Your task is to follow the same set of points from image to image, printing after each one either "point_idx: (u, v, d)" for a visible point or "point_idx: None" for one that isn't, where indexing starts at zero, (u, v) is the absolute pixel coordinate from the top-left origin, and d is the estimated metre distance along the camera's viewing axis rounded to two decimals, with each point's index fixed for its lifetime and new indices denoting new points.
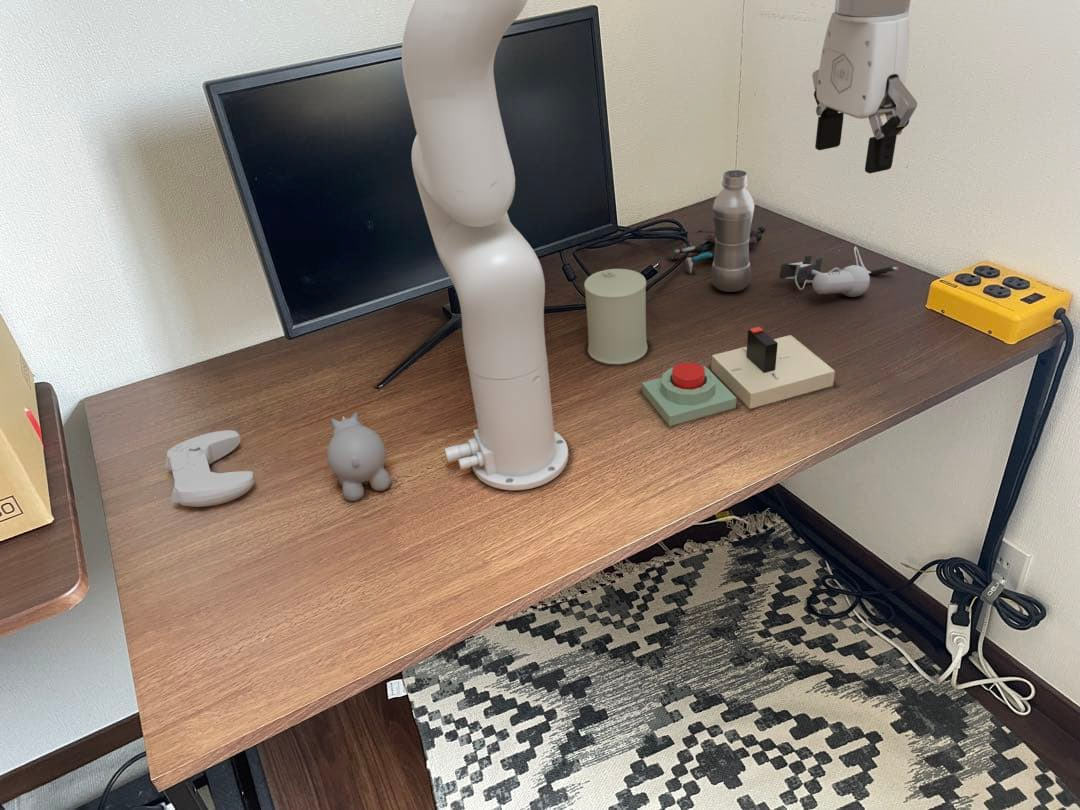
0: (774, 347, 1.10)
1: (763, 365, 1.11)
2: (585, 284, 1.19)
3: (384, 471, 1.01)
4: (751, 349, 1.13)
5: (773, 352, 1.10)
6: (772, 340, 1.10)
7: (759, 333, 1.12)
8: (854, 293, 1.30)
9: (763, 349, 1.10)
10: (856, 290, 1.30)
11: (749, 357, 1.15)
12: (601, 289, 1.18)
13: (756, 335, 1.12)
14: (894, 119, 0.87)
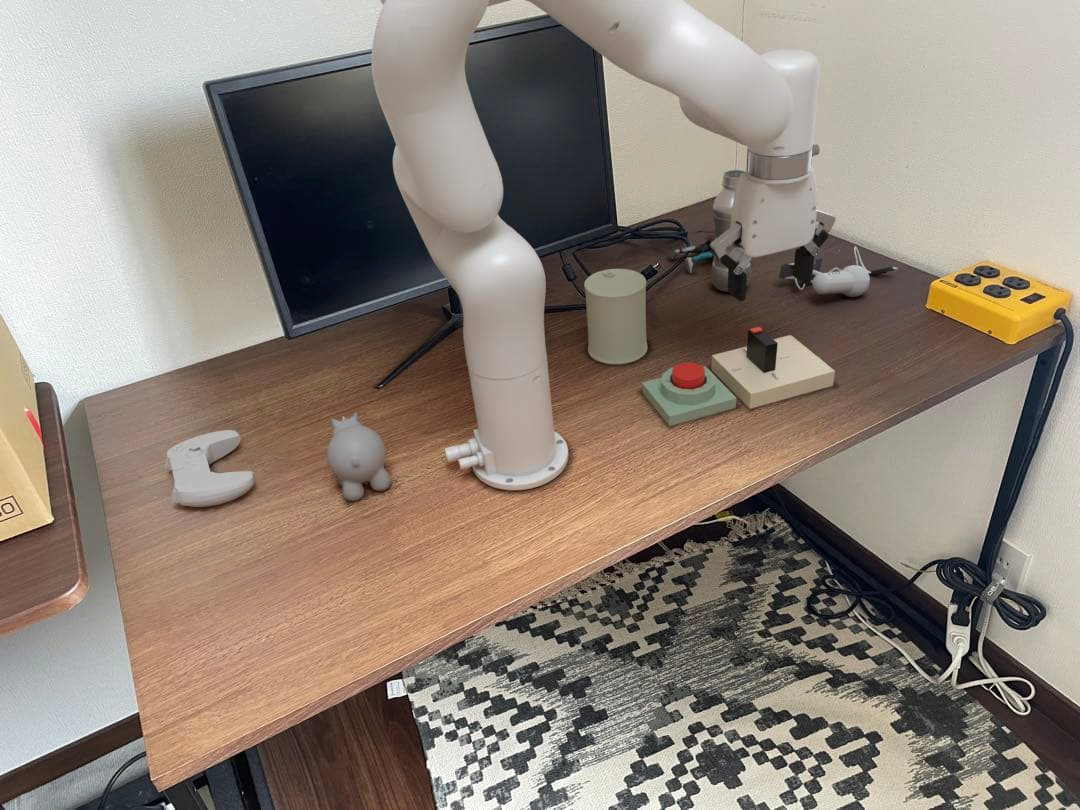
0: (774, 347, 1.10)
1: (763, 365, 1.11)
2: (585, 284, 1.19)
3: (384, 471, 1.01)
4: (751, 349, 1.13)
5: (773, 352, 1.10)
6: (772, 340, 1.10)
7: (759, 333, 1.12)
8: (854, 293, 1.30)
9: (763, 349, 1.10)
10: (856, 290, 1.30)
11: (749, 357, 1.15)
12: (601, 289, 1.18)
13: (756, 335, 1.12)
14: None
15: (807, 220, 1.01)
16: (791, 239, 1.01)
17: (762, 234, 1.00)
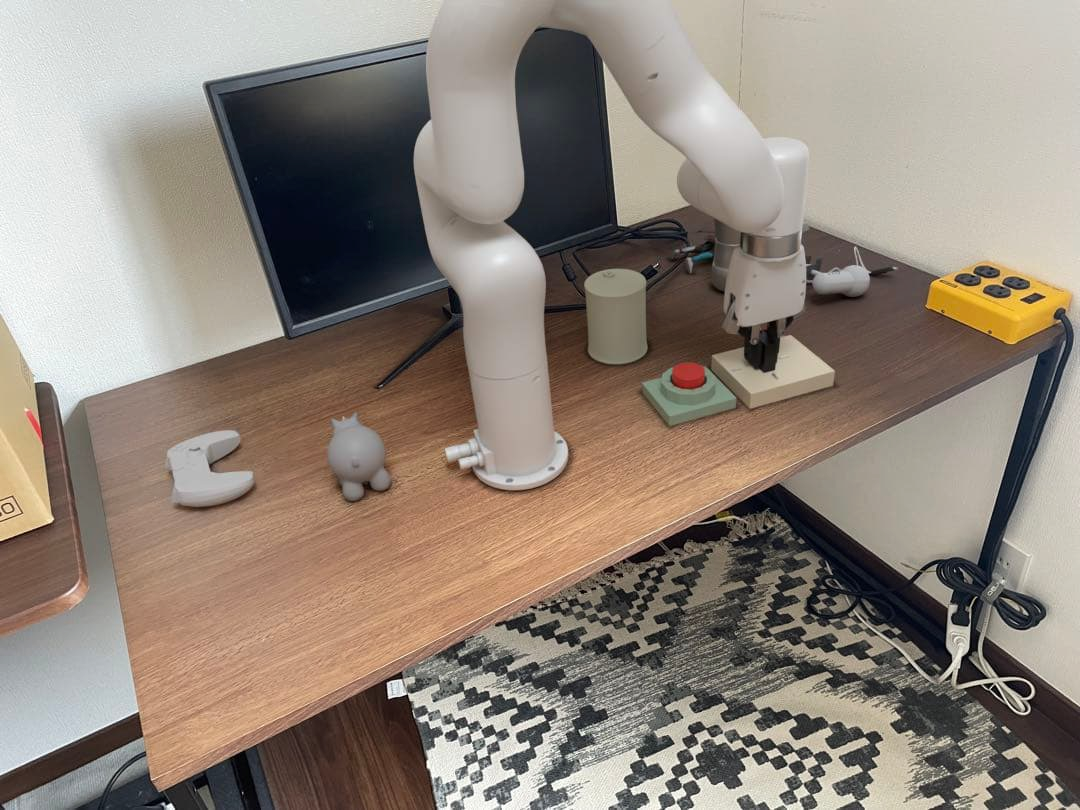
0: (774, 347, 1.10)
1: (763, 365, 1.11)
2: (585, 284, 1.19)
3: (384, 471, 1.01)
4: None
5: (773, 352, 1.10)
6: (772, 340, 1.10)
7: None
8: (854, 293, 1.30)
9: (763, 349, 1.10)
10: (856, 290, 1.30)
11: None
12: (601, 289, 1.18)
13: None
14: None
15: (797, 292, 1.06)
16: (782, 310, 1.07)
17: (754, 306, 1.05)
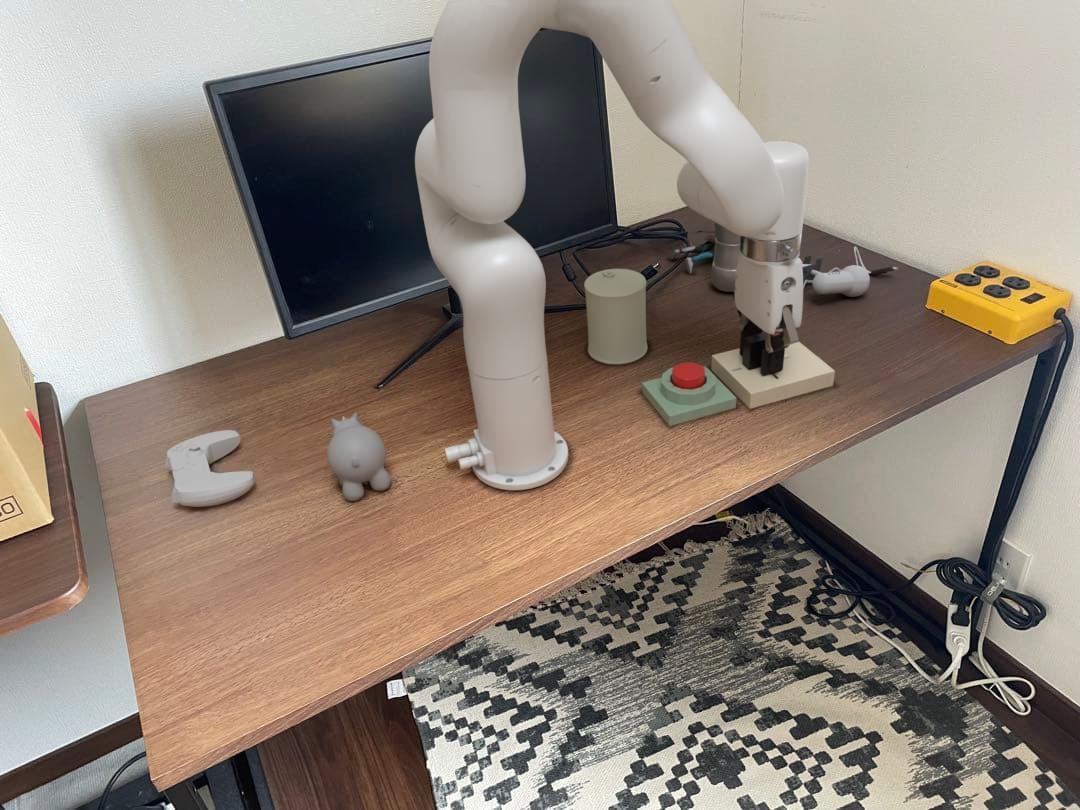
0: (748, 345, 1.11)
1: None
2: (585, 284, 1.19)
3: (384, 471, 1.01)
4: None
5: (747, 349, 1.11)
6: (755, 341, 1.11)
7: None
8: (854, 293, 1.30)
9: None
10: (856, 290, 1.30)
11: None
12: (601, 289, 1.18)
13: None
14: None
15: (764, 308, 1.05)
16: (755, 316, 1.07)
17: (739, 292, 1.10)
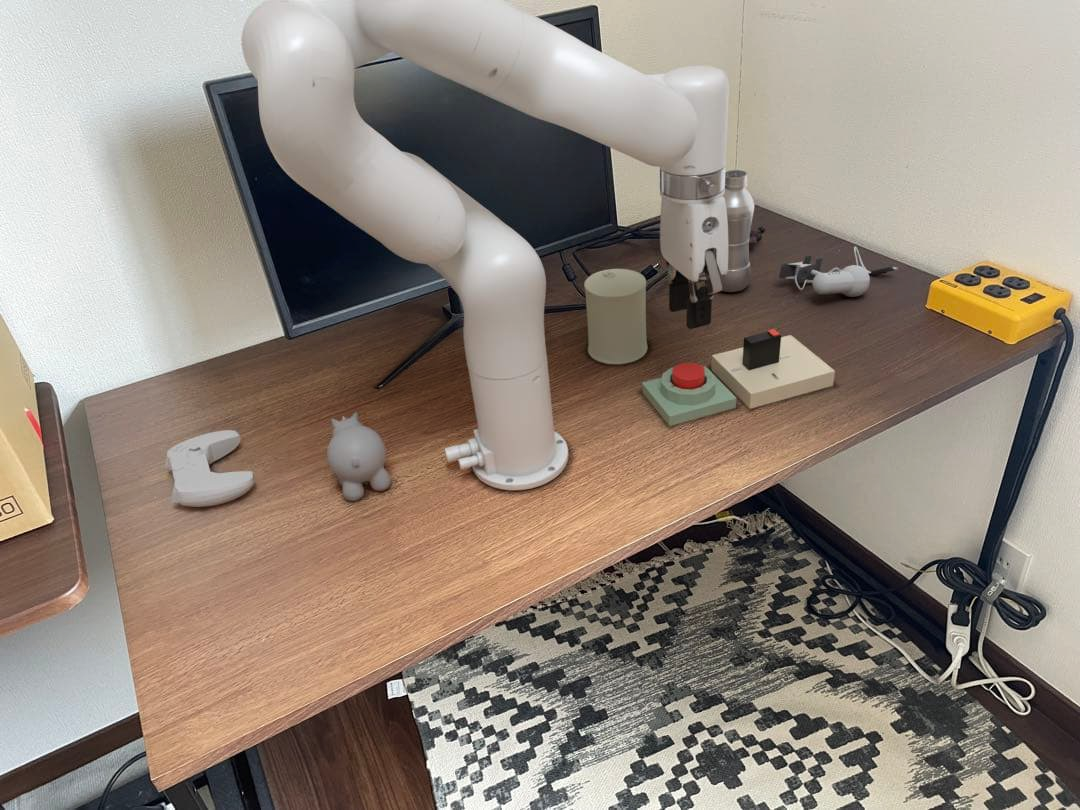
0: (748, 345, 1.11)
1: None
2: (585, 284, 1.19)
3: (384, 471, 1.01)
4: None
5: (747, 349, 1.11)
6: (755, 341, 1.11)
7: (768, 335, 1.12)
8: (854, 293, 1.30)
9: None
10: (856, 290, 1.30)
11: None
12: (601, 289, 1.18)
13: (764, 333, 1.12)
14: None
15: (686, 253, 0.96)
16: (678, 262, 0.99)
17: (663, 237, 1.01)
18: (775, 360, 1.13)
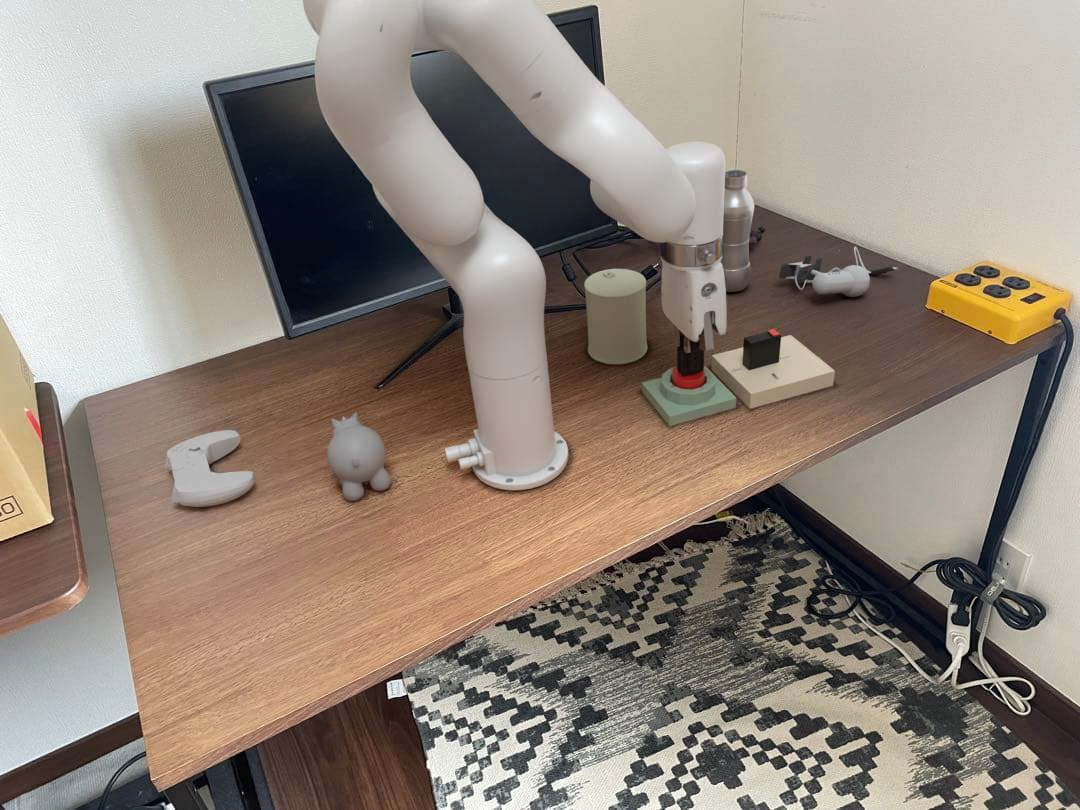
0: (748, 345, 1.11)
1: None
2: (585, 284, 1.19)
3: (384, 471, 1.01)
4: None
5: (747, 349, 1.11)
6: (755, 341, 1.11)
7: (768, 335, 1.12)
8: (854, 293, 1.30)
9: None
10: (856, 290, 1.30)
11: None
12: (601, 289, 1.18)
13: (764, 333, 1.12)
14: None
15: (686, 315, 1.01)
16: (679, 322, 1.04)
17: (664, 297, 1.06)
18: (775, 360, 1.13)
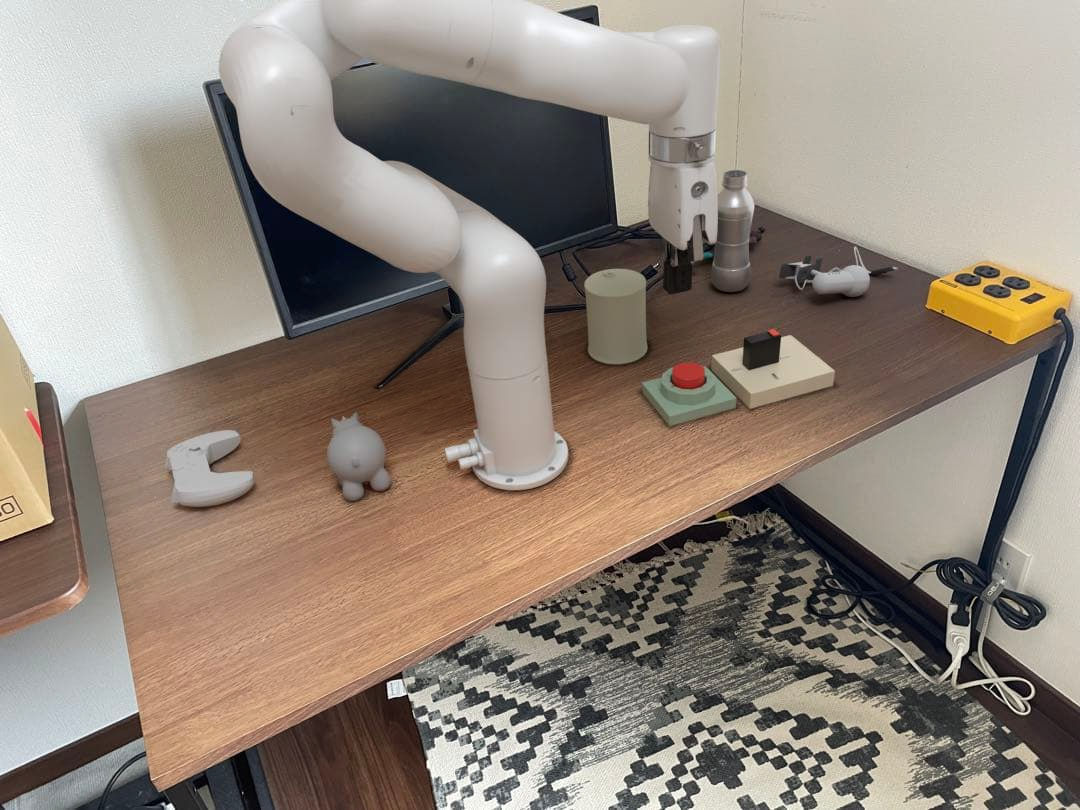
0: (748, 345, 1.11)
1: None
2: (585, 284, 1.19)
3: (384, 471, 1.01)
4: None
5: (747, 349, 1.11)
6: (755, 341, 1.11)
7: (768, 335, 1.12)
8: (854, 293, 1.30)
9: None
10: (856, 290, 1.30)
11: None
12: (601, 289, 1.18)
13: (764, 333, 1.12)
14: None
15: (674, 219, 0.93)
16: (666, 230, 0.96)
17: (651, 205, 0.98)
18: (775, 360, 1.13)
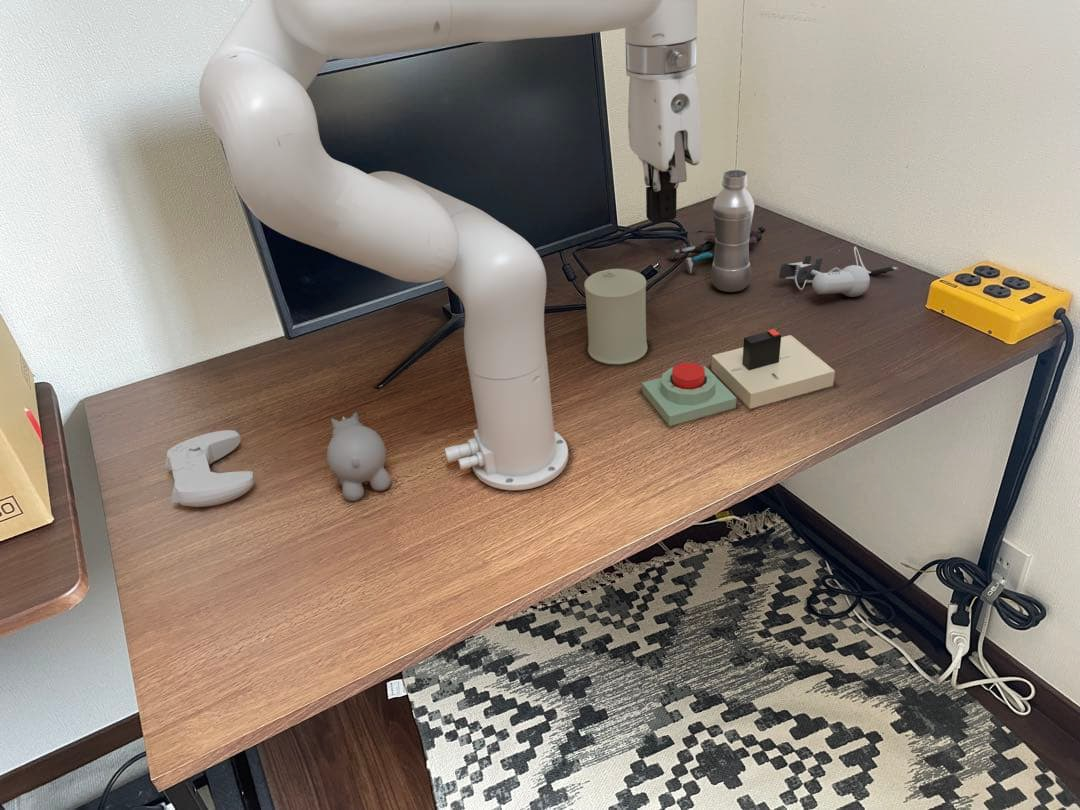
0: (748, 345, 1.11)
1: None
2: (585, 284, 1.19)
3: (384, 471, 1.01)
4: None
5: (747, 349, 1.11)
6: (755, 341, 1.11)
7: (768, 335, 1.12)
8: (854, 293, 1.30)
9: None
10: (856, 290, 1.30)
11: None
12: (601, 289, 1.18)
13: (764, 333, 1.12)
14: None
15: (655, 138, 0.88)
16: (647, 152, 0.91)
17: (632, 127, 0.93)
18: (775, 360, 1.13)
